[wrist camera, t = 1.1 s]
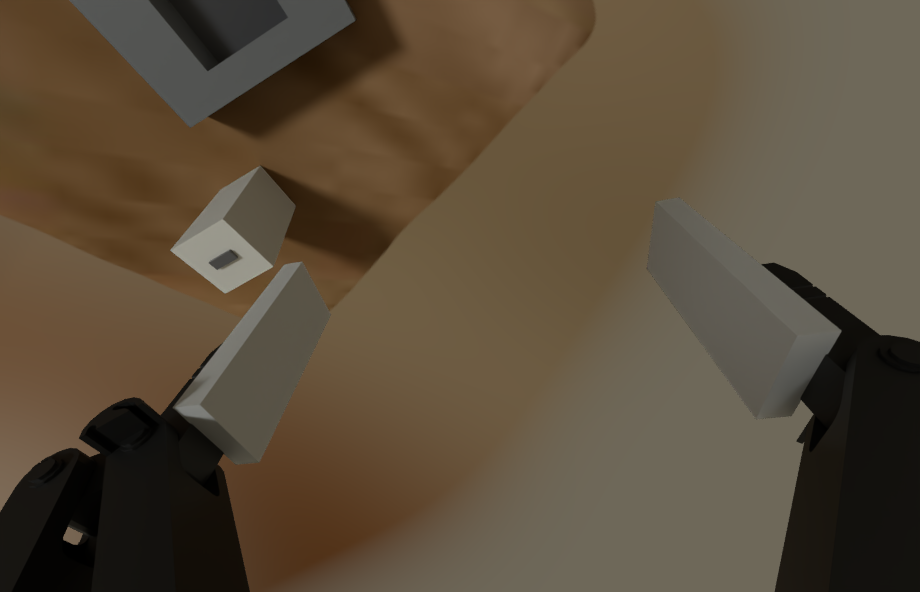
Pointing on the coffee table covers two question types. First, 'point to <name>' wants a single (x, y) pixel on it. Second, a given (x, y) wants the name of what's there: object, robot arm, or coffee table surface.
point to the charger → (238, 231)
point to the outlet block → (212, 43)
